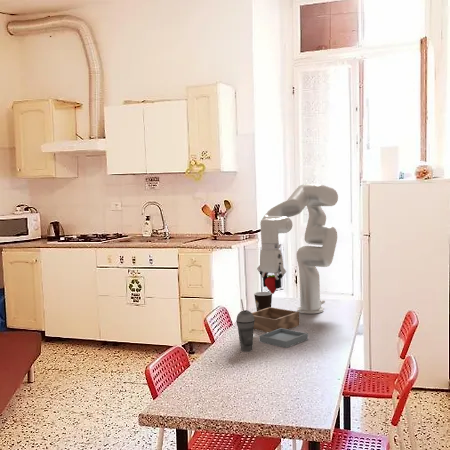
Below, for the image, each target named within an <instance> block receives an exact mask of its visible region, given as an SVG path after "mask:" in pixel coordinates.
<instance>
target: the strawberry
mask: <svg viewBox="0 0 450 450" xmlns="http://www.w3.org/2000/svg"><path fill="white" fill-rule="evenodd" d="M266 276H267V277H268V278H266V280H265V284H266V287H265V288H267V290H268V292H271V293H272V295H273V294H275V292H276V291H277V289H276V288H275V280H276V277H275V274H268V275H266Z"/></svg>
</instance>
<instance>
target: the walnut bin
mask: <svg viewBox="0 0 450 450" xmlns="http://www.w3.org/2000/svg"><path fill="white" fill-rule="evenodd" d="M251 313H252V314H253V316H254V319H255V321H254V330H256V331H260V332H261V331H262V332H266V333H268V332H271V331H274V330H277V329H280V328H283V329H288V330H292V329H293V328H295V327H299V326H301V325H300V323H301V322H300V321H301V319H300V312H298V311H297V310H291V309H289V310H288V309H283V308H279V307H272V306H271V307H269V308H266V309H263V310H259V311H257V310H256V311H253V312H251ZM254 330H253V331H254Z"/></svg>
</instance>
